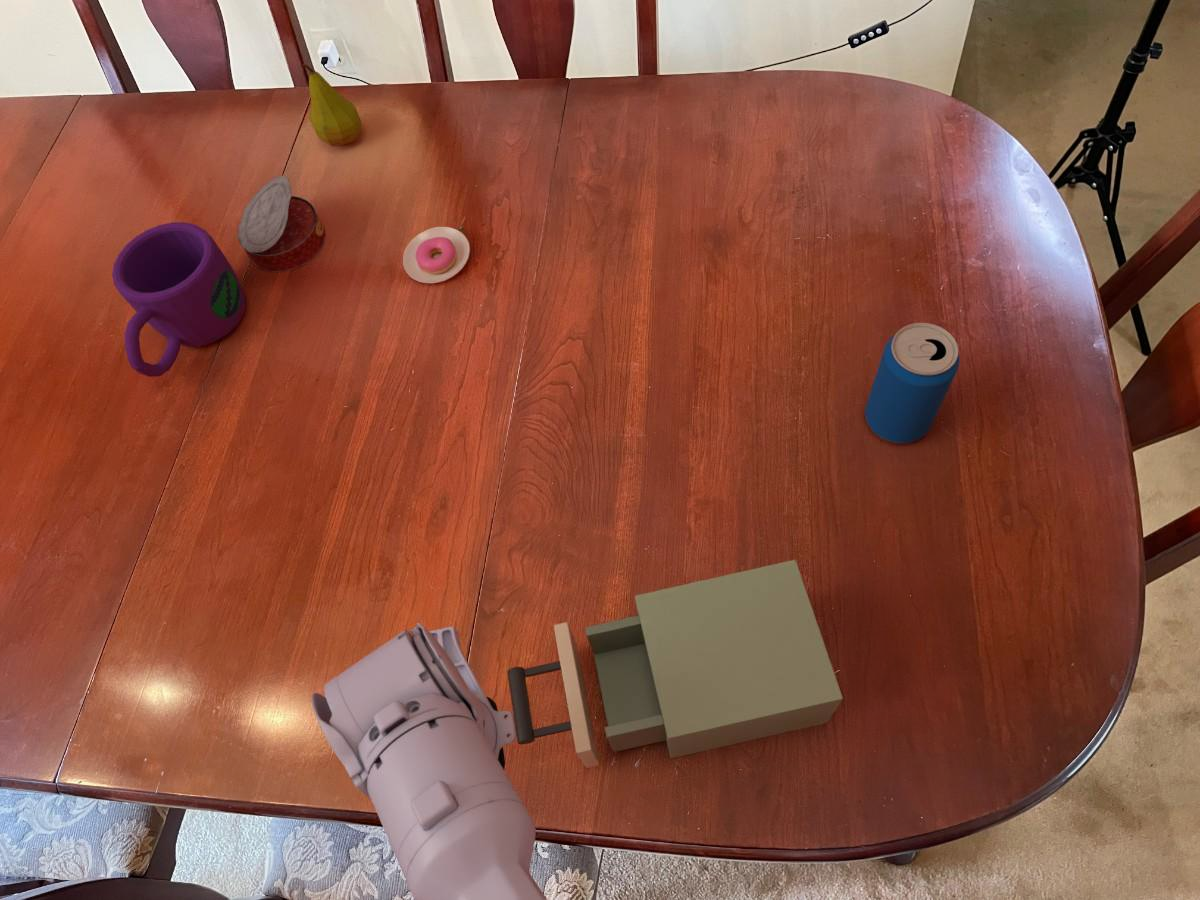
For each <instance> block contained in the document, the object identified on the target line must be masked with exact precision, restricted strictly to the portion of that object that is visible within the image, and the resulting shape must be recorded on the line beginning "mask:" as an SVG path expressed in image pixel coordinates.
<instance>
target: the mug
mask: <svg viewBox="0 0 1200 900" xmlns="http://www.w3.org/2000/svg"><path fill="white" fill-rule="evenodd" d="M111 273H112V274H111V276H112V281H113V285H114V287H115V289H116V290H117V291H118V293H119V294H120V295H121V297H123V299H124V300H125V301H126V302H127V303H128V304H129V306H131V308H132V309H133V310H134V311H135V312H136V313H134V314H133V315H132V316H131V318H130V320H129V321H128V322H127V324H126V328H125V333H124V347H125V348H124V349H125V353H126V357H127V361H128V363H129V365H130V367H131V368H132V369H133V370H134V371H136V372H137V373H138V374H140V375H143V376H145V377H149V378H153V377H155V378H156V377H162V376H163V375H164V374H166V373H167V372H169V370H171V368H172V367H173V365H174V363H175V362H176V361H177V358H178V356H179V354H180V351H181V346H184V347H200V346H201V347H202V346H205V345H209V344H211V343H214V342H216V341H219V340H220V339H222V338H224V337H225V336H226V335H228V334H230V333H231V331H233V330H234V329H235V328H236V326H237V325H238V324H239V323H240V320H241V319H242V317H243V315H244V313H245V309H246V295H245V292H244V289H243V287H242V284H241V282H240V280H239V277H238V275H237V274H236V272H235V270H234V269H233V267H232V265H231V264H230V262H229V261H228V259H227V257H226V256H225V253H223V251H222V250H221V248H220V247H219V245H218V244H217V243H216V241H215V240H214V238H213V237H212V236H211V235H210V233H208V231H207V230H206V229H203V228H202V227H201V226H198V225H197V224H195V223H189V222H185V221H181V222H180V221H179V222H178V221H176V222H175V221H174V222H168V223H163V224H159V225H157V226H153V227H151V228H149V229H146V230H144V231H143V232H141V233H139V234H138V235H136V236H135V237H133V239H131V240H130V241H129V242H128V243H126V245H124V247H123V248H122V249H121V250H120V252H119V253H118V255H117V257H116V259H115V261H114V263H113V268H112V272H111ZM146 324H148V325H150V327H152V329H154V330H155V331H156V332H157V333H159V334H160V335H162V336H163V337H164V338H165V339H167V344H166V348H165V350H164V352H163V354H162V356H161V358H160V359H159V361H157V363H155V364H153V363H149V362H145V360H144V359H143V355H142V351H141V344H140V336H141V335H140V334H141V331H142V329H143V328H144V326H145V325H146Z"/></svg>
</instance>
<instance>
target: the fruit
mask: <svg viewBox="0 0 1200 900" xmlns="http://www.w3.org/2000/svg"><path fill="white" fill-rule="evenodd" d="M302 66H303V67H305V68H306V69H307V70H308V71H309V73H310V74H309V77H308V78H309V79H308V90H309V94H310V110H309V121H310V123H311V126H312V127H313V130H314V132H315V134H316V136H317V137H318V139H320V140H321V141H323V142H324V143H326V144H328V145H330V146H331V147H334V146H335V147H336V146H342V145H343V146H344V145H348V144H351V143H353V142H354V141H355V140H356V139H357V137H358V136H359V134H360V132H361V131H362V120H361V117H360V115H359V113H358V109H357V108H356V106H355V104H354V103H353V102H352V101H350V100H348V99H347V98H345V97H344V96H343V95H342V94H341V93H339V92H338V91H337V90H336V89H335V88H334V87H333V86H332V85H331V84H330V83H329V82H328V81H327V80H326V79H325V78H324V76H322V75H321V73H320V72H318V71H317V70H313V69H312V68H311V67H310V66H309V65H307V64H306V63H302Z"/></svg>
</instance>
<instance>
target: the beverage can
mask: <svg viewBox="0 0 1200 900" xmlns="http://www.w3.org/2000/svg"><path fill="white" fill-rule="evenodd" d="M959 367H960V354H959V346H958V343H957V341H956V339H955V337H954V336H953V335H952V333H950V332H949V331H948V330H946V329H944V328H943V327H942V326H939V325H936V324H933V323H930V322H928V323H927V322H914V323H911V324H907V325H905V326H903V327H901V328H900V329H899V330H898V331H897V332H896V333H895V334H893V335H892V336H891V337H889V340H888V341H887V342H886V345H885V347H884V349H883V353H882V355H881V359H880V361H879V365H878V368H877V370H876V374H875V377H874V379H873V382H872V385H871V389H870V392H869V395H868V397H867V401H866V404H865V408H864V417H865V420H866V423H867V425H868V427H869V428H870V429H871V431H872V432H873V433H874V434H875V435H877V436H878V437H880V438H881V439H883V440H885V441H888V442H891V443H895V444H909V443H913V442H916V441H918V440H920V439H921V438H923V437H925V436H926V435H927V434H928V432H929V431H930V429H931V427H932V426H933V423H934V421H935V418H936V417H937V415H938V412H939V411H940V409H941V407H942V404H943V402H944V400H945V398H946V395H947V393H948V391H949V389H950V387H951V385H952V383H953V380H954V378H955V376H956V374H957V372H958V369H959Z"/></svg>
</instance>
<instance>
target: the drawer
mask: <svg viewBox="0 0 1200 900" xmlns="http://www.w3.org/2000/svg"><path fill="white" fill-rule="evenodd" d="M553 629H554V635H555V642H556V646H557V653H558V659H559V660H558V661H553V662H549V663H546V664H541V665H536V666H532V667H527V668H524V667H523V666H514V667H511V668H509V669H507V679H508V687H509V692H510V698H511V700H510V701H511V707H512V715H513V717H514V724H515V730H516V742H517V744H518V745H520V746H521V745H528V744H531V743H534V742H535V741H536V739H538V738H543V737H547V736H551V735H556V734H560V733H566V732H569V731H571V732H572V739H573V743H574V749H575V753H576V755H577V757H578V758H579V760H580V761H581V763H582V764H583V765H584V767H585V768H586V769H588V768H593V767H596V766H600V764H601V763H600V758H599V753H598V747H597V741H596V736H595V732H594V726H593V721H592V716H591V715H592V714H591V710H590V706H589V700H588V694H587V689H586V684H585V679H584V673H583V667H582V662H581V658H580V652H579V647H578V644H577V641H576V639H575V636H574V634H573V632H572V629H571V627H570V625H569V622H567V621H565V622H561V623H557V624H553ZM585 634H586V638H587V641H588V643H589V646H590V649H591V652H592V654H593V655H592V656H593V659H594V665H595V669H596V675H597V680H598V684H599V688H600V689H599V690H600V695H601V700H602V703H603V709H604V714H605V715H604V716H605V721H606V725H607V726H604V732H605V733H604V734H605V737H606V740H607V741H608V745H609V746H610V748H611V751H612V752H613V753H615V752H621V751H625V750H629V749H633V748H637V747H643V746H647V745H651V744H655V743H661V742H664V741H666V740H667V737H666V730H665V726H664V722H663V717H662V713H661V709H660V704H659V700H658V696H657V691H656V687H655V683H654V678H653V674H652V670H651V665H650V661H649V657H648V652H647V648H646V644H645V639H644V635H643V631H642V626H641V622H640V618H639V615H638V614H637V615H632V616H628V617H624V618H619V619H615V620H611V621H605V622H601V623H597V624H593V625H589V626H585ZM557 671H561V677H562V681H563V686H564V692H565V698H566V704H567V710H568V715H569V720H570V721H565V722H561V723H556V724H552V725H547V726H543V727H539V728H534V725H533V720H532V719H533V717H532V713H531V706H530V700H529V693H528V687H527V686H528V685H527V679H526V678H530V677H534V676H539V675H544V674H549V673H552V672H557Z"/></svg>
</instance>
